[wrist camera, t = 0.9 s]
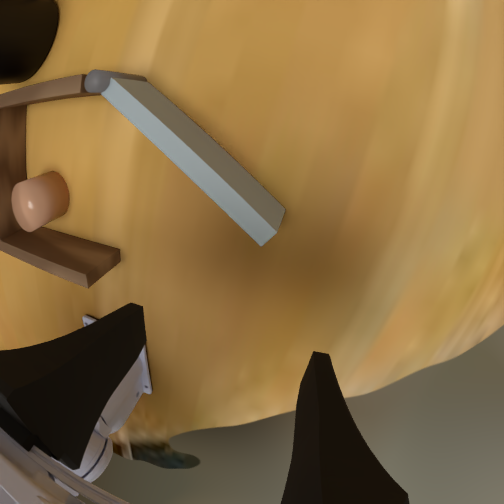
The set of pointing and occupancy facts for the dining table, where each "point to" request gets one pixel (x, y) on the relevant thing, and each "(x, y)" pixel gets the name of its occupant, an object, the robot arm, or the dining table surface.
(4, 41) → the mug
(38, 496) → the robot arm
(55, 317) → the dining table surface
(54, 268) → the cubby
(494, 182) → the dining table surface
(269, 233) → the door
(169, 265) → the dining table surface
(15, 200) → the tan rounded cylinder
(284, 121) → the dining table surface
